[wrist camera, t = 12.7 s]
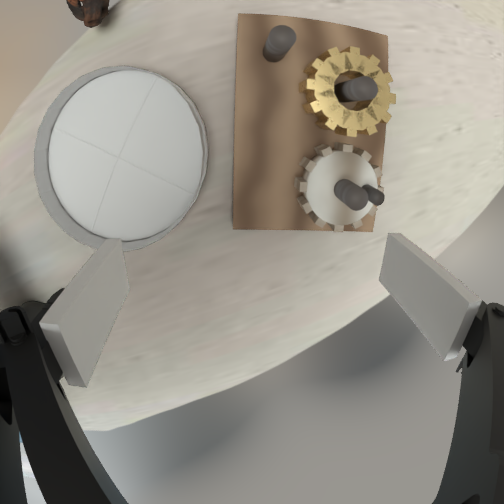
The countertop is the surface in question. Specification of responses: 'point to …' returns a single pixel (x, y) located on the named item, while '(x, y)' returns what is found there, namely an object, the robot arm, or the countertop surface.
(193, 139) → the dish
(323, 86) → the brass gear
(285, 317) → the countertop surface
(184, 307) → the countertop surface
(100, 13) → the brown curved piece
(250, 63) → the gear board
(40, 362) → the robot arm
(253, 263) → the countertop surface
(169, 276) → the countertop surface
